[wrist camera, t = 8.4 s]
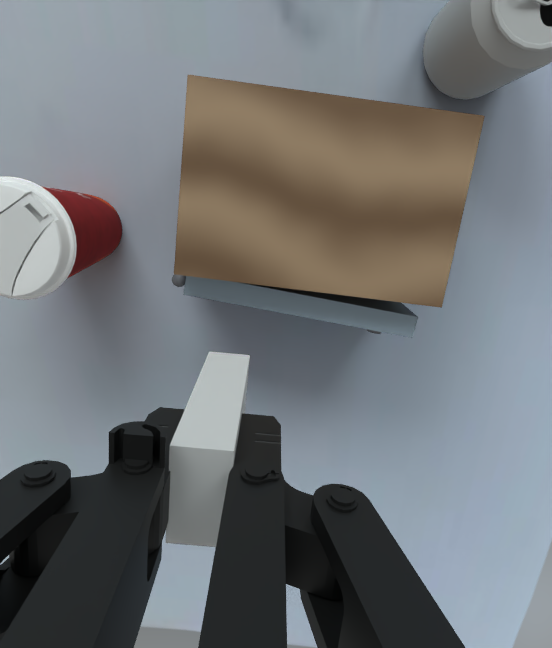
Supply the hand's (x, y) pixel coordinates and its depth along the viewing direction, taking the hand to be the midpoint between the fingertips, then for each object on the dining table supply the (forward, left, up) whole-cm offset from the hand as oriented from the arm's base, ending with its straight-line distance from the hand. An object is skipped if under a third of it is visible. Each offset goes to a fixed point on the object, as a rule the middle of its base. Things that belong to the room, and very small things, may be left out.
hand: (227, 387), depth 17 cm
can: (-20, +15, -27) cm, 37 cm away
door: (+1, +3, -26) cm, 26 cm away
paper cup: (-2, -15, -27) cm, 31 cm away
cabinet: (-7, +4, -27) cm, 28 cm away
